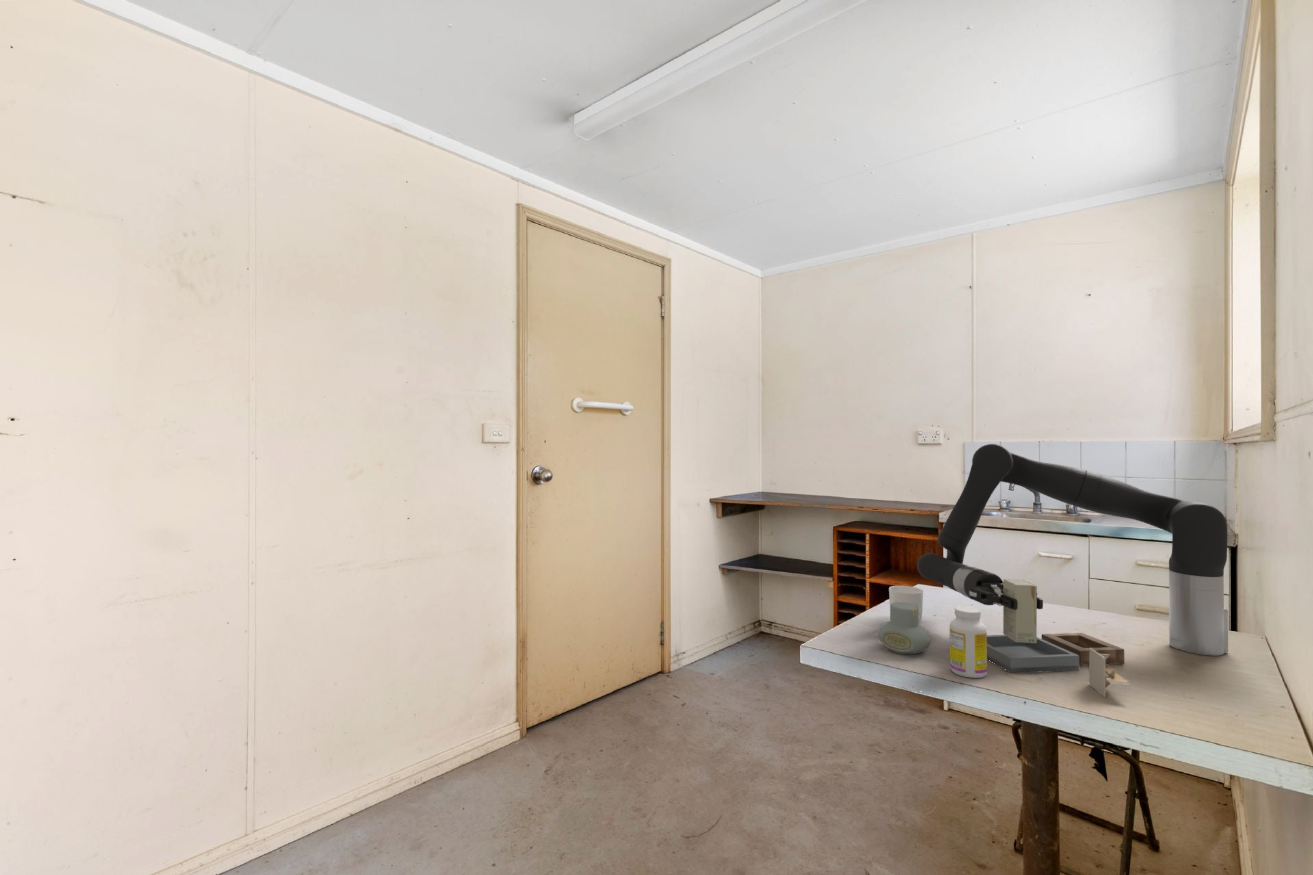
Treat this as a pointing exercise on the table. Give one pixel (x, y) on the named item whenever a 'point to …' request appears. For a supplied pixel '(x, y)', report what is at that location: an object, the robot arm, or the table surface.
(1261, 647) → the table surface
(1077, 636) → the walnut collar
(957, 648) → the supplement bottle
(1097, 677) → the architectural model
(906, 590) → the white cup
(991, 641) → the slate tray
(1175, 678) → the table surface
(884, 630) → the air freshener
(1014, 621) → the skincare box
